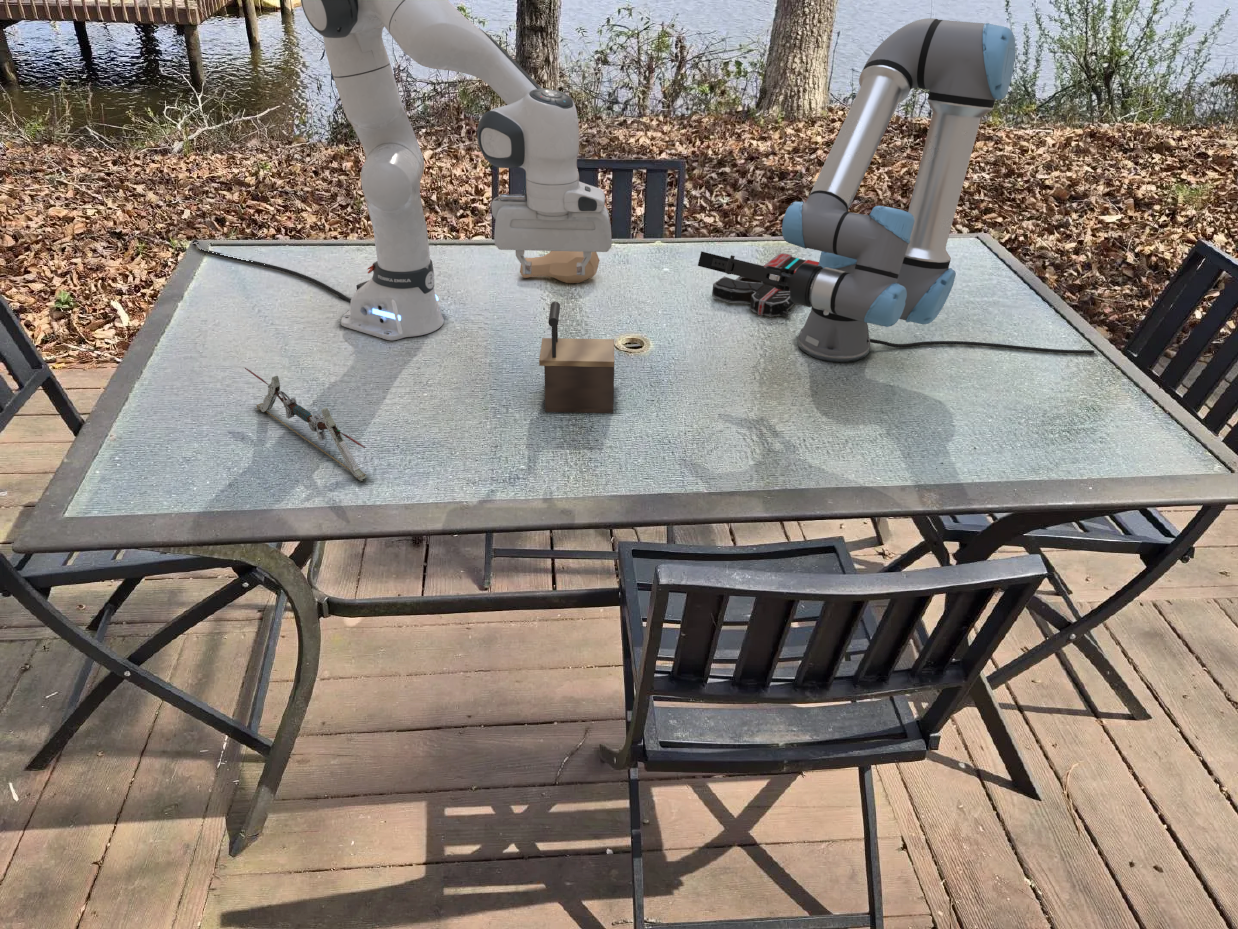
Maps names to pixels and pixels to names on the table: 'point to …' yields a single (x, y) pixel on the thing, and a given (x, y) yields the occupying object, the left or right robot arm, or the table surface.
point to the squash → (562, 266)
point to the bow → (311, 423)
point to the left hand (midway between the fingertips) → (554, 273)
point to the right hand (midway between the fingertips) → (717, 262)
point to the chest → (579, 389)
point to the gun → (760, 289)
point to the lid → (574, 348)
